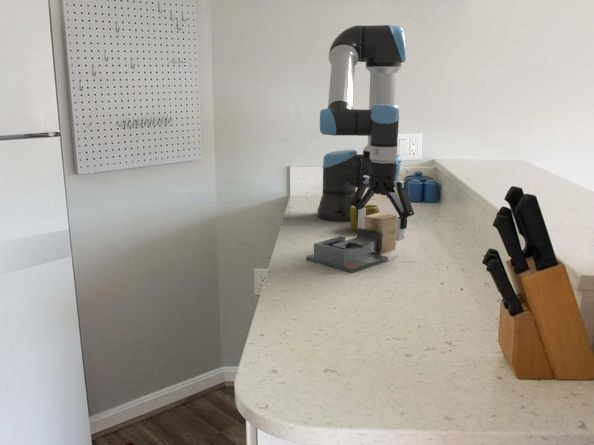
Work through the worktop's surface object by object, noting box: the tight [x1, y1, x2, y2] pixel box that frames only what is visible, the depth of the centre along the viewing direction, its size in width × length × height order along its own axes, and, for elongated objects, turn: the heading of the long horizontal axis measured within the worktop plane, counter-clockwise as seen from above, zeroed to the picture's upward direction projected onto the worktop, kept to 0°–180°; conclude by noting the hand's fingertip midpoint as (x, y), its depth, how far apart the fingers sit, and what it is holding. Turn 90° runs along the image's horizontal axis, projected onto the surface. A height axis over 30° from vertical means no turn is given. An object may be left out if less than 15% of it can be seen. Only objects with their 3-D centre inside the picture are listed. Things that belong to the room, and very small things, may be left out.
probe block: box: [364, 211, 398, 255], centre depth 168 cm, size 6×7×10 cm
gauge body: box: [305, 236, 389, 274], centre depth 159 cm, size 16×15×5 cm
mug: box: [350, 204, 380, 233], centre depth 191 cm, size 12×10×10 cm
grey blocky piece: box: [331, 228, 383, 253], centre depth 160 cm, size 11×13×5 cm
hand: (380, 235), depth 169 cm, fingers open, 13 cm apart
